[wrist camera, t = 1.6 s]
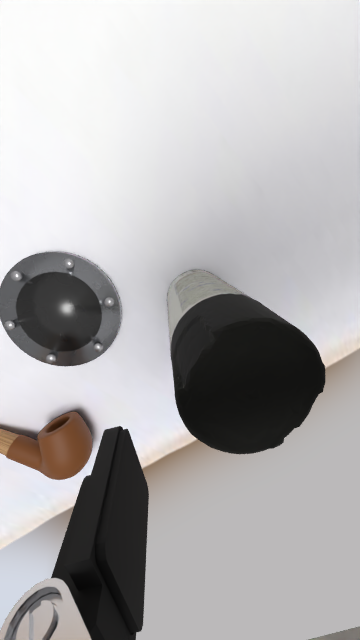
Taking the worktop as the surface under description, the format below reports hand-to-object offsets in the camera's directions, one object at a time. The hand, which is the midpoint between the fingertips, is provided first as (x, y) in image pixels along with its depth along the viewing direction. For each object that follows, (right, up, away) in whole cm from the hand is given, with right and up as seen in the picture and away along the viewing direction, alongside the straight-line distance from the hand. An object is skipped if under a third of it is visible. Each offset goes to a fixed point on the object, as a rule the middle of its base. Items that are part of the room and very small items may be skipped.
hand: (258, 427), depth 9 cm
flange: (-16, +5, +20) cm, 26 cm away
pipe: (-23, -12, +25) cm, 36 cm away
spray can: (-1, +7, +21) cm, 22 cm away
